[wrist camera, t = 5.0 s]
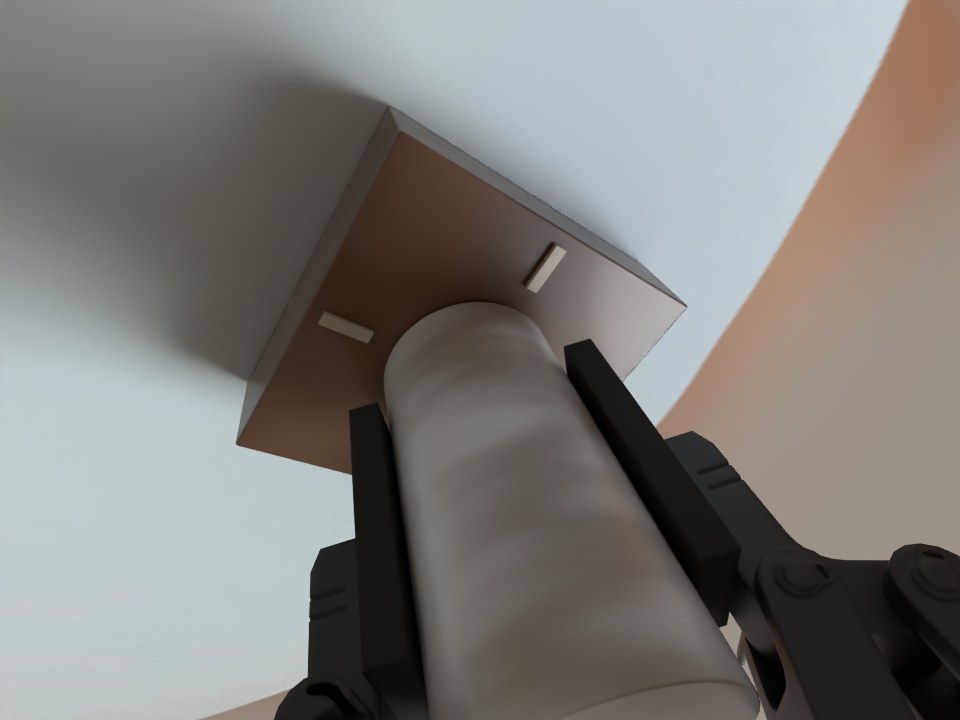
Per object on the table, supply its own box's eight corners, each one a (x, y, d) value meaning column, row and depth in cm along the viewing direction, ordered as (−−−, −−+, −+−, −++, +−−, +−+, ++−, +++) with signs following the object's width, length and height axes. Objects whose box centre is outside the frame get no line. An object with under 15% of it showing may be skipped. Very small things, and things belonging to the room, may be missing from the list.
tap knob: (567, 304, 15) (839, 679, 7) (528, 436, 18) (695, 815, 10) (390, 297, 14) (480, 751, 6) (377, 440, 17) (427, 887, 9)
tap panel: (643, 265, 19) (691, 309, 16) (488, 459, 23) (508, 519, 20) (388, 103, 14) (401, 131, 12) (247, 383, 18) (233, 449, 15)
